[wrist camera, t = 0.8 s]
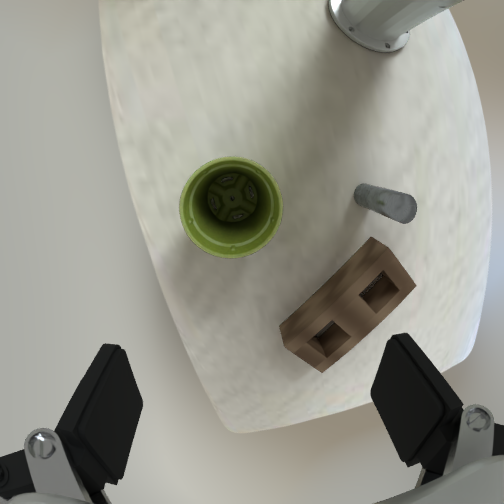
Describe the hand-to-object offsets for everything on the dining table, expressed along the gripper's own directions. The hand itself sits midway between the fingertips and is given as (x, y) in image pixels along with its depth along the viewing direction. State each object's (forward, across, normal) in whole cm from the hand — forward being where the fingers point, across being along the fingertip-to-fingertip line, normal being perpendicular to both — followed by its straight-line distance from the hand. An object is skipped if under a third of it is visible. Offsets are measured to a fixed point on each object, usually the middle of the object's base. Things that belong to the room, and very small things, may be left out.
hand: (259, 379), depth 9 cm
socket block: (+27, -14, +12) cm, 32 cm away
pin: (+27, -16, -3) cm, 31 cm away
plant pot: (+27, +1, -2) cm, 27 cm away
